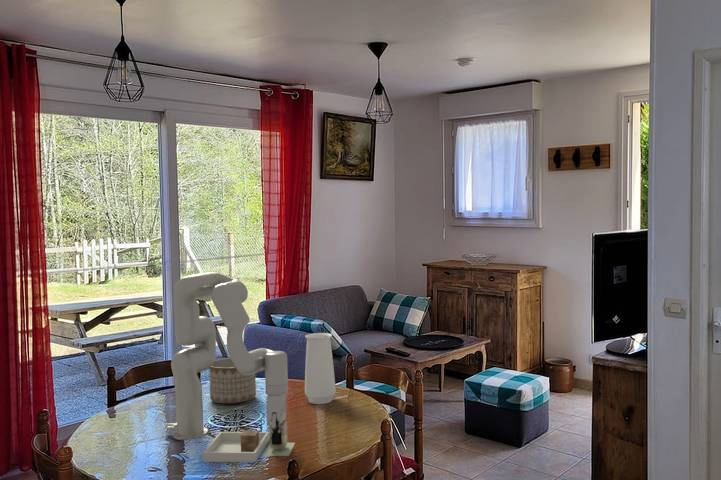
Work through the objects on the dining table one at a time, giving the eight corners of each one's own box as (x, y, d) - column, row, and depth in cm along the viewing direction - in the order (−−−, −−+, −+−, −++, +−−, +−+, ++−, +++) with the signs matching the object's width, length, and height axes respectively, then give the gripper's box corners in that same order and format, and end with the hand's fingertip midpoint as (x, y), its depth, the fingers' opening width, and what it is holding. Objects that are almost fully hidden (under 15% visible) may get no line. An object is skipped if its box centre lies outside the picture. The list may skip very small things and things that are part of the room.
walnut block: (241, 453, 218) (240, 435, 218) (244, 447, 223) (244, 430, 223) (255, 453, 218) (255, 435, 217) (259, 447, 223) (258, 430, 222)
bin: (202, 463, 212) (202, 452, 212) (220, 441, 231) (220, 431, 231) (255, 463, 210) (255, 452, 210) (269, 441, 230) (268, 431, 230)
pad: (261, 457, 216) (261, 455, 216) (269, 444, 228) (269, 442, 227) (288, 457, 215) (288, 455, 215) (295, 444, 227) (295, 442, 227)
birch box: (269, 448, 219) (269, 424, 218) (273, 443, 224) (272, 420, 223) (284, 448, 218) (283, 424, 218) (287, 443, 223) (286, 420, 223)
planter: (206, 397, 286) (204, 360, 285) (249, 391, 294) (248, 355, 294) (216, 409, 269) (214, 370, 268) (261, 402, 277) (260, 364, 276)
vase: (319, 394, 287) (317, 331, 285) (342, 399, 278) (340, 334, 277) (298, 401, 277) (296, 336, 275) (321, 407, 268) (319, 339, 267)
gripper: (271, 381, 229) (273, 432, 230) (260, 395, 212) (261, 450, 213) (292, 381, 228) (294, 432, 229) (282, 395, 211) (284, 450, 212)
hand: (278, 440), depth 221 cm, fingers closed on birch box, 4 cm apart
